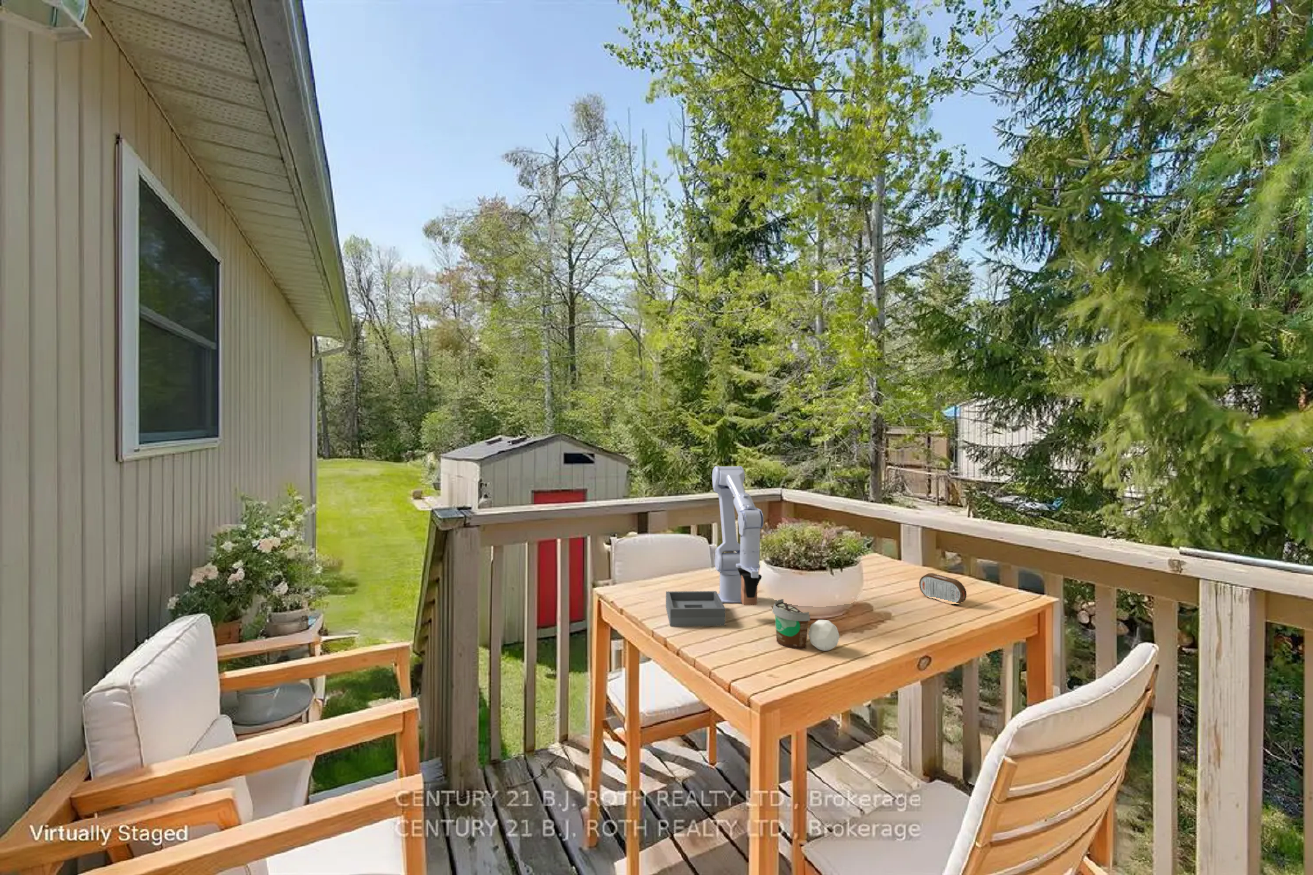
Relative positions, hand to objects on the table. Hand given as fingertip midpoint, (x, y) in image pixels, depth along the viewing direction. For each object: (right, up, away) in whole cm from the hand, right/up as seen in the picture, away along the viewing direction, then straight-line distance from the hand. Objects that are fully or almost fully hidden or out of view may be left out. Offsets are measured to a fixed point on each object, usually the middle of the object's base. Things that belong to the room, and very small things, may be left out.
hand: (748, 594), depth 171 cm
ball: (+16, -9, -21) cm, 28 cm away
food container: (+7, -9, -17) cm, 20 cm away
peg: (0, -3, 0) cm, 2 cm away
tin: (+67, -8, +19) cm, 70 cm away
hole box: (-16, -7, +2) cm, 18 cm away
